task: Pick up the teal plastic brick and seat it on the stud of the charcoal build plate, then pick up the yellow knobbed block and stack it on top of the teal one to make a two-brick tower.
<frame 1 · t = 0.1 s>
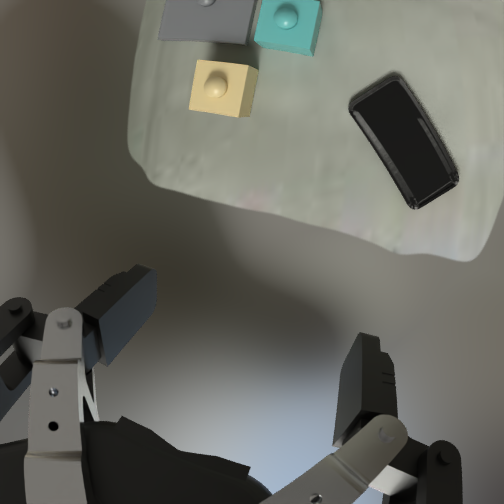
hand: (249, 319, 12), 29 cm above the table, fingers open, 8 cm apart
build plate: (211, 1, 30), on the table
phone: (406, 142, 33), on the table
teal brick: (292, 29, 30), on the table
yellow knobbed block: (230, 89, 35), on the table
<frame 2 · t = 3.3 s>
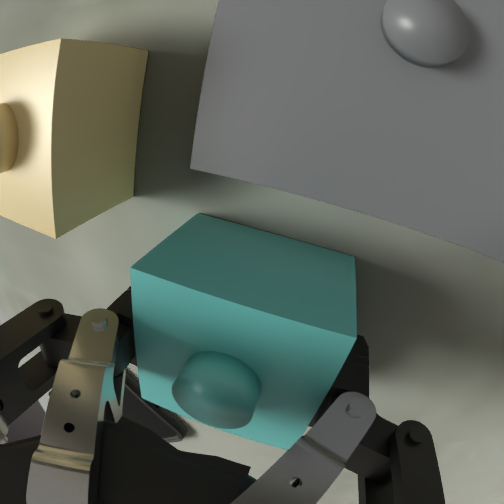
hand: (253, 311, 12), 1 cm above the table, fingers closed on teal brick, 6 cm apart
build plate: (412, 37, 7), on the table
phone: (110, 406, 22), on the table
teal brick: (259, 300, 13), on the table, touching gripper
yellow knobbed block: (84, 119, 11), on the table
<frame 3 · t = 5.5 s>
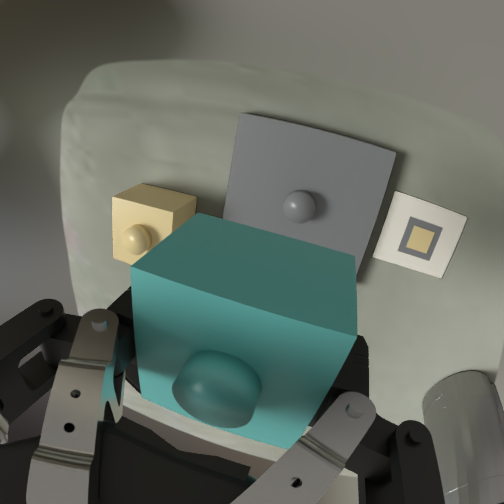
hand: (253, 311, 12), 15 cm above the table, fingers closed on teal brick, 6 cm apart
build plate: (302, 200, 25), on the table
teal brick: (259, 299, 13), point 14 cm above the table, touching gripper
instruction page: (420, 236, 24), on the table
yellow knobbed block: (165, 219, 30), on the table
when the fingers open (3 cm above the table, at t = 8.2 s): teal brick stays where it is, resting on build plate.
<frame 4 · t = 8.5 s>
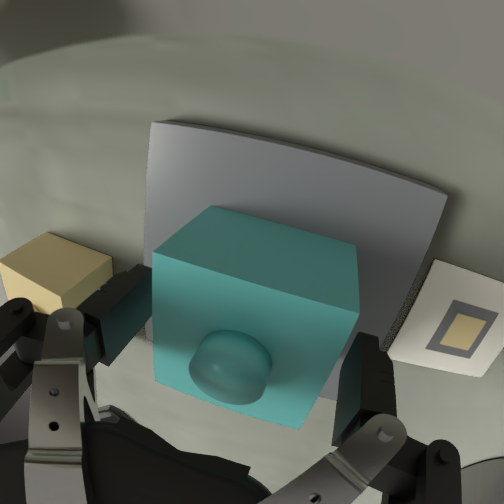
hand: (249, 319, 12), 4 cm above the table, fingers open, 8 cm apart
build plate: (270, 273, 15), on the table
phone: (113, 430, 30), on the table
teal brick: (266, 287, 14), point 1 cm above the table, touching build plate
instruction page: (464, 327, 13), on the table
yellow knobbed block: (80, 283, 19), on the table
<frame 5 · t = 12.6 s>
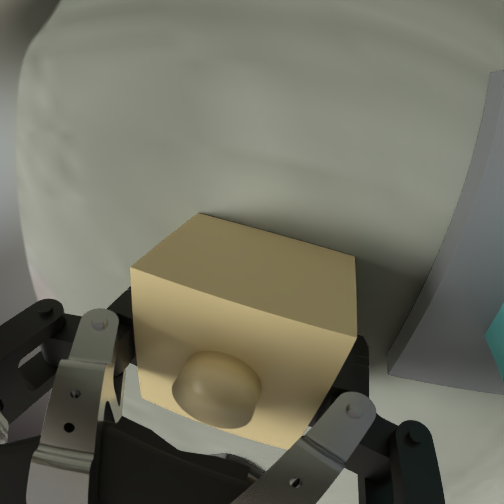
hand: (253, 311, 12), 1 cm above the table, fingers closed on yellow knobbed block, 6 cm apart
phone: (204, 474, 24), on the table
yellow knobbed block: (259, 300, 13), on the table, touching gripper
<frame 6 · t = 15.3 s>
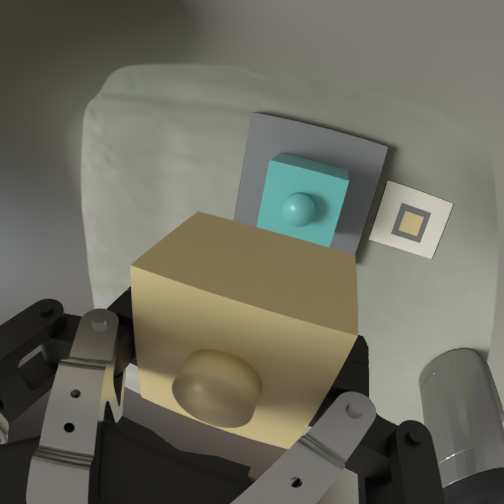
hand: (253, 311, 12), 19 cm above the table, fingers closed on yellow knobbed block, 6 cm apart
build plate: (306, 189, 29), on the table
teal brick: (306, 192, 28), point 1 cm above the table, touching build plate
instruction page: (411, 221, 27), on the table
yellow knobbed block: (259, 298, 13), point 18 cm above the table, touching gripper
when the fingers open (8 cm above the table, at t = 17.9 s): yellow knobbed block drops 1 cm, resting on teal brick.
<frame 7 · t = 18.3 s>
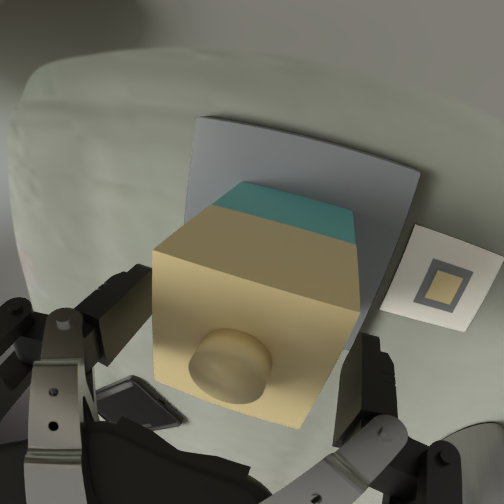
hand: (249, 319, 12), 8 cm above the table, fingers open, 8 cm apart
build plate: (286, 236, 19), on the table
phone: (131, 404, 34), on the table
teal brick: (284, 245, 18), point 1 cm above the table, touching build plate, yellow knobbed block
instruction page: (444, 283, 17), on the table
yellow knobbed block: (266, 286, 14), point 6 cm above the table, touching teal brick
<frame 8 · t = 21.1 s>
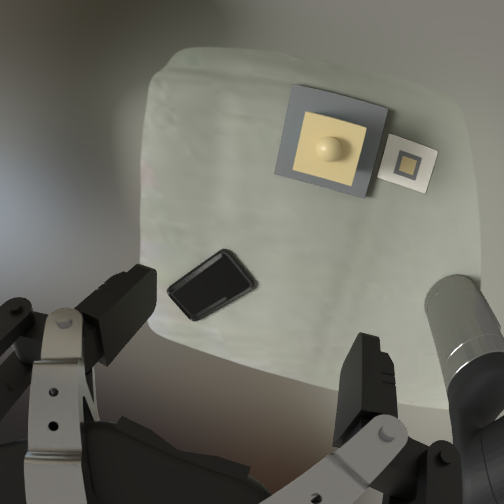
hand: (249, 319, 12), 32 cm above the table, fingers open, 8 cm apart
build plate: (330, 140, 38), on the table
phone: (209, 285, 53), on the table
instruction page: (408, 163, 36), on the table
yellow knobbed block: (330, 144, 33), point 6 cm above the table, touching teal brick
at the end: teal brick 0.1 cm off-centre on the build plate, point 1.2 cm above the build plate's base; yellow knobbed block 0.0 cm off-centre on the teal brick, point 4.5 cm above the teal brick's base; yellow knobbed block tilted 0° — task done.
